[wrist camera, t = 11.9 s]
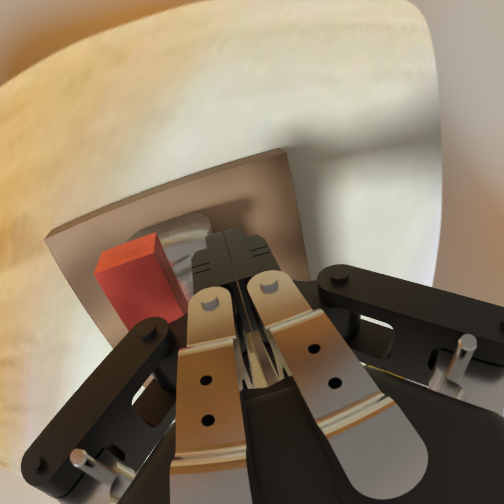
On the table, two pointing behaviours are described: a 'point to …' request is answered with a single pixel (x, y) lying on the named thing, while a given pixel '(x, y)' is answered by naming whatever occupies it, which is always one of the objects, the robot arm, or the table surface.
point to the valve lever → (140, 282)
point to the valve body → (179, 256)
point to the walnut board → (179, 203)
